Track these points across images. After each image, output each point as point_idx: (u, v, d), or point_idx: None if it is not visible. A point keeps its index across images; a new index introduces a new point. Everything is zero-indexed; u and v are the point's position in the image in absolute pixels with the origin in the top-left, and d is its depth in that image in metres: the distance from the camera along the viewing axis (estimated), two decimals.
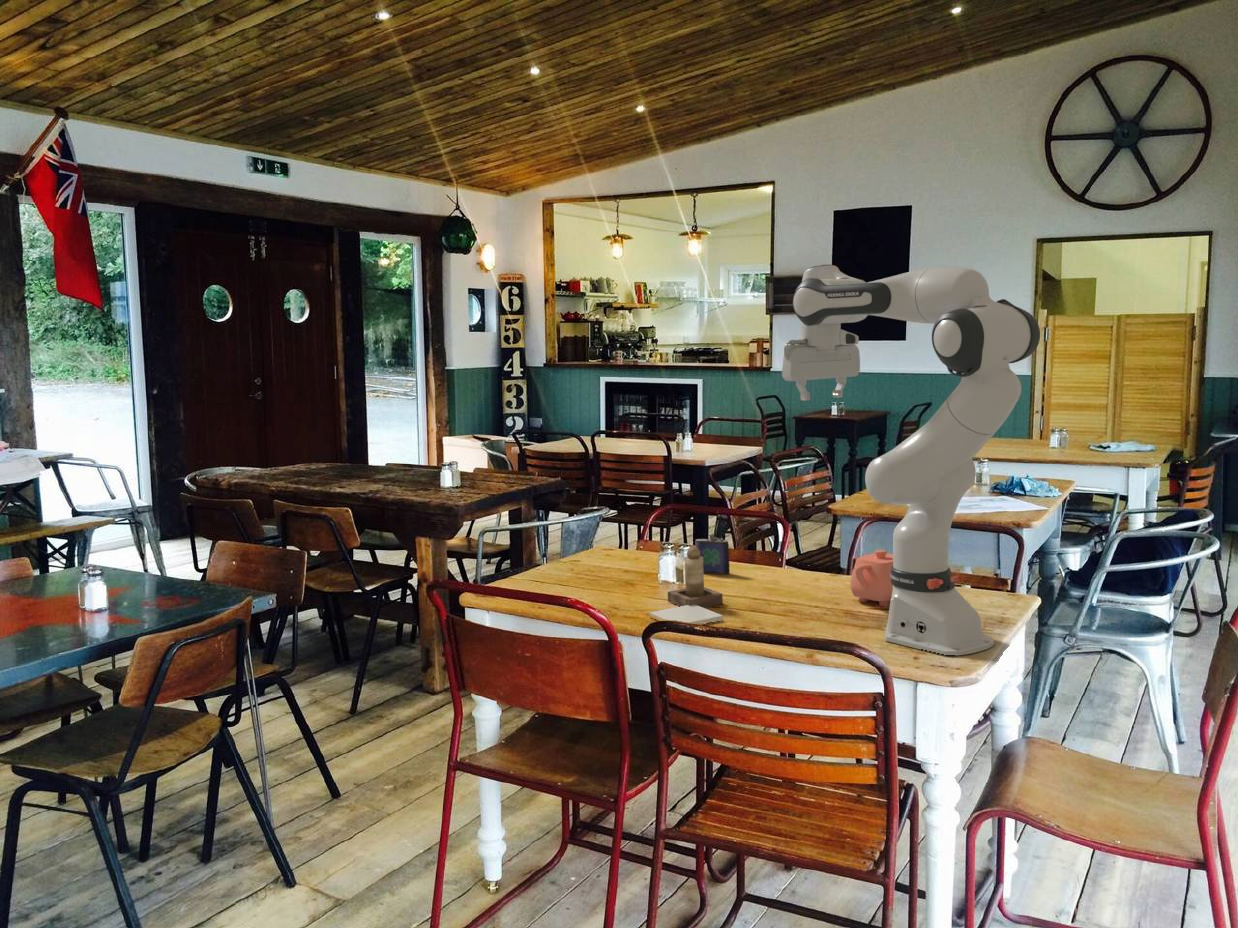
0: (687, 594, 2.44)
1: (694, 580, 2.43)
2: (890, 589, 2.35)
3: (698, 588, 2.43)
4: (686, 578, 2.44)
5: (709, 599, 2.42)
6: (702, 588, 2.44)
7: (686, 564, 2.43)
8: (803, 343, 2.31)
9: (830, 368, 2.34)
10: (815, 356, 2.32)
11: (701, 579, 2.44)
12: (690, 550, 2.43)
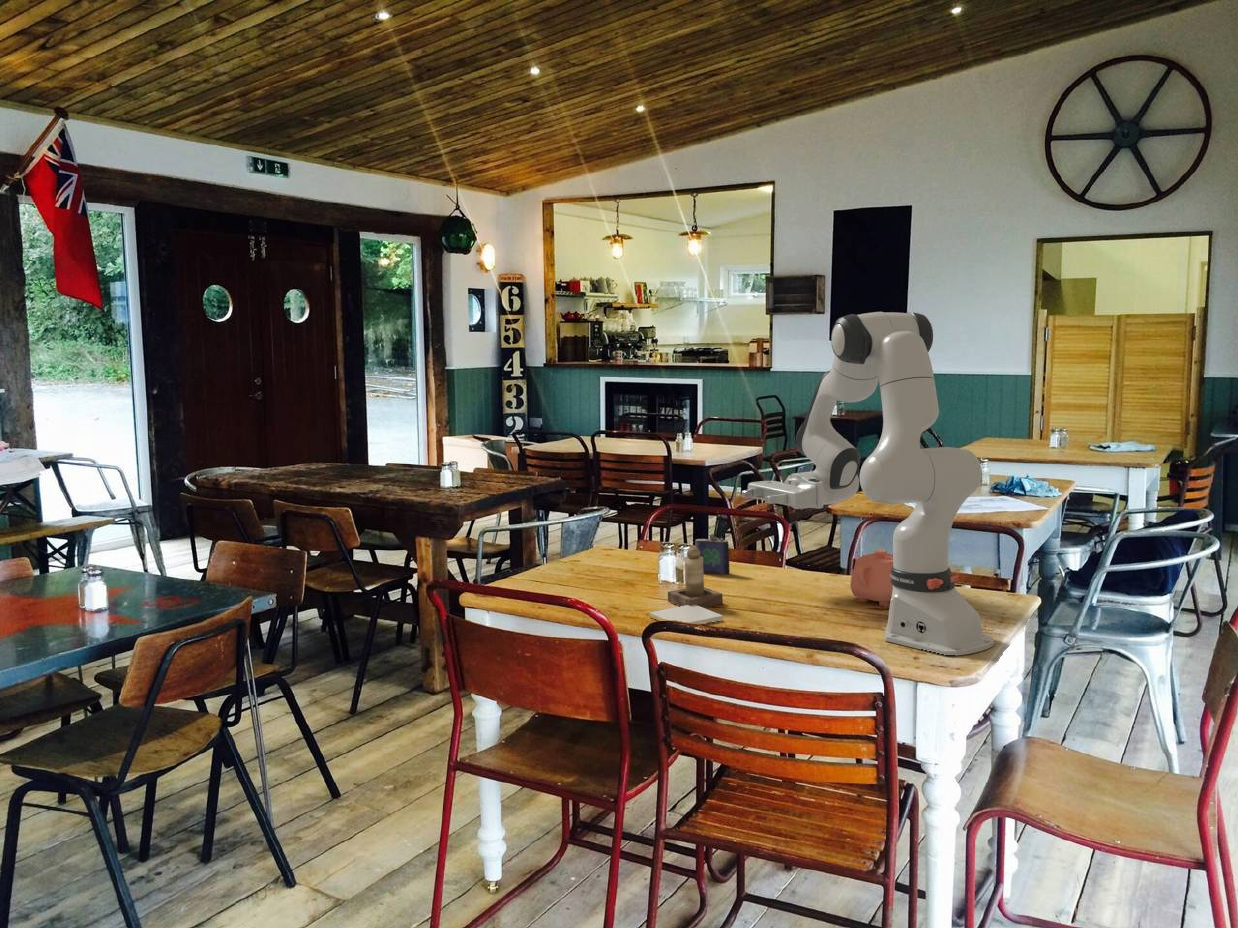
0: (687, 594, 2.44)
1: (694, 580, 2.43)
2: (890, 589, 2.35)
3: (698, 588, 2.43)
4: (686, 578, 2.44)
5: (709, 599, 2.42)
6: (702, 588, 2.44)
7: (686, 564, 2.43)
8: None
9: (781, 487, 2.49)
10: (779, 484, 2.55)
11: (701, 579, 2.44)
12: (690, 550, 2.43)
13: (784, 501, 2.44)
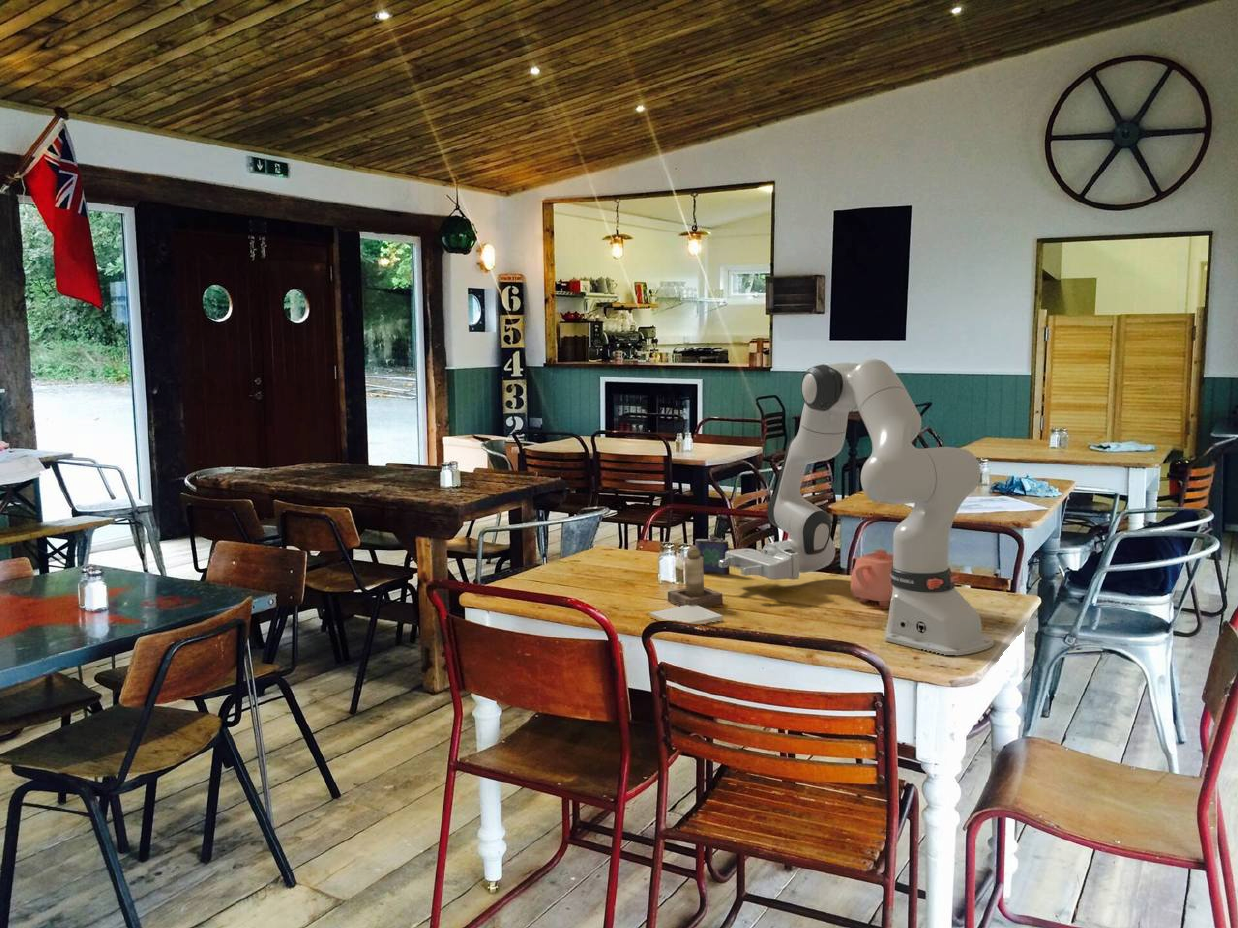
0: (687, 594, 2.44)
1: (694, 580, 2.43)
2: (890, 589, 2.35)
3: (698, 588, 2.43)
4: (686, 578, 2.44)
5: (709, 599, 2.42)
6: (702, 588, 2.44)
7: (686, 564, 2.43)
8: None
9: (757, 557, 2.52)
10: (756, 553, 2.57)
11: (701, 579, 2.44)
12: (690, 550, 2.43)
13: (759, 572, 2.46)
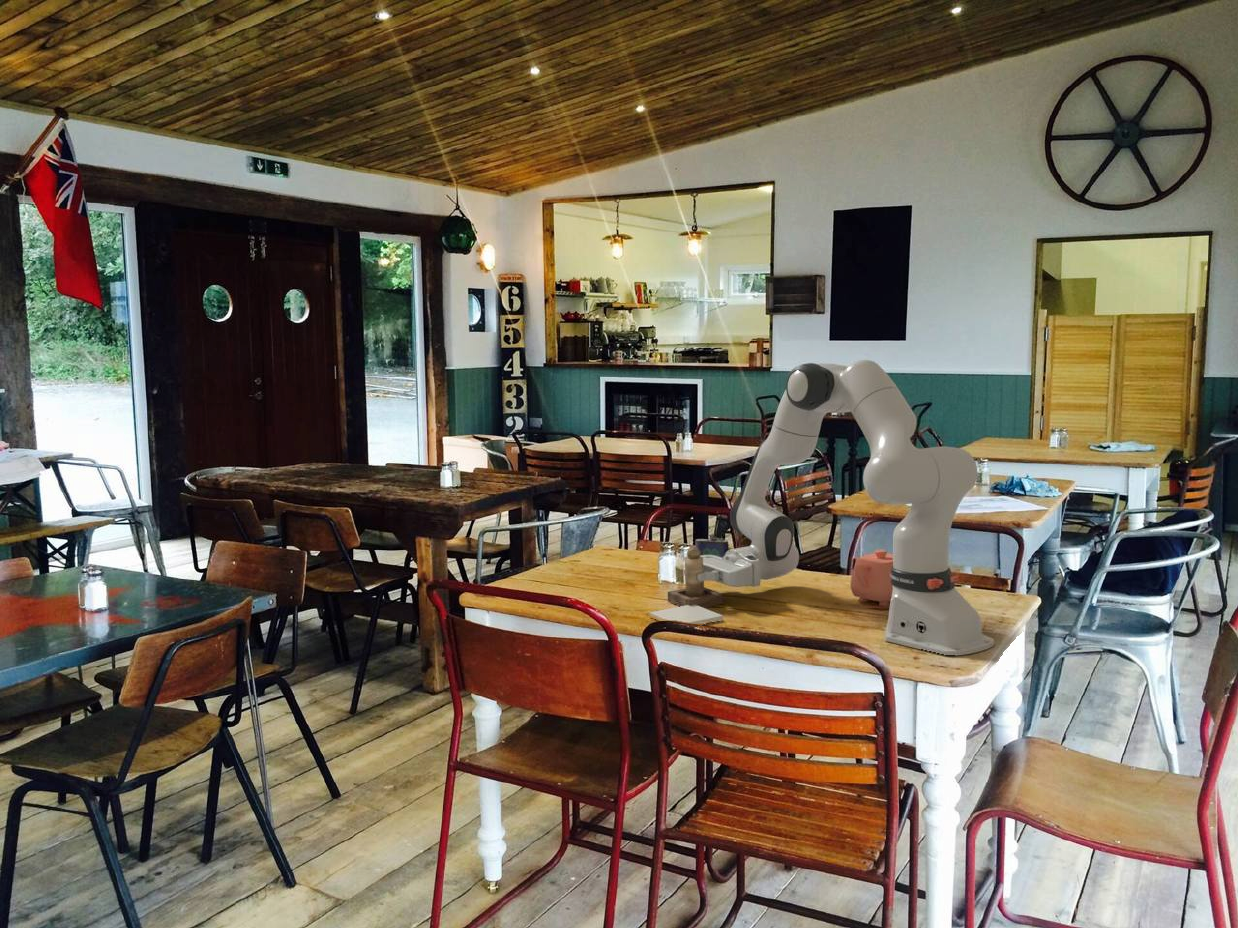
0: (687, 594, 2.44)
1: (694, 580, 2.43)
2: (890, 589, 2.35)
3: (698, 588, 2.43)
4: (686, 578, 2.44)
5: (709, 599, 2.42)
6: (702, 588, 2.44)
7: (686, 564, 2.43)
8: None
9: (718, 564, 2.46)
10: (718, 560, 2.51)
11: None
12: (690, 550, 2.43)
13: (715, 578, 2.42)
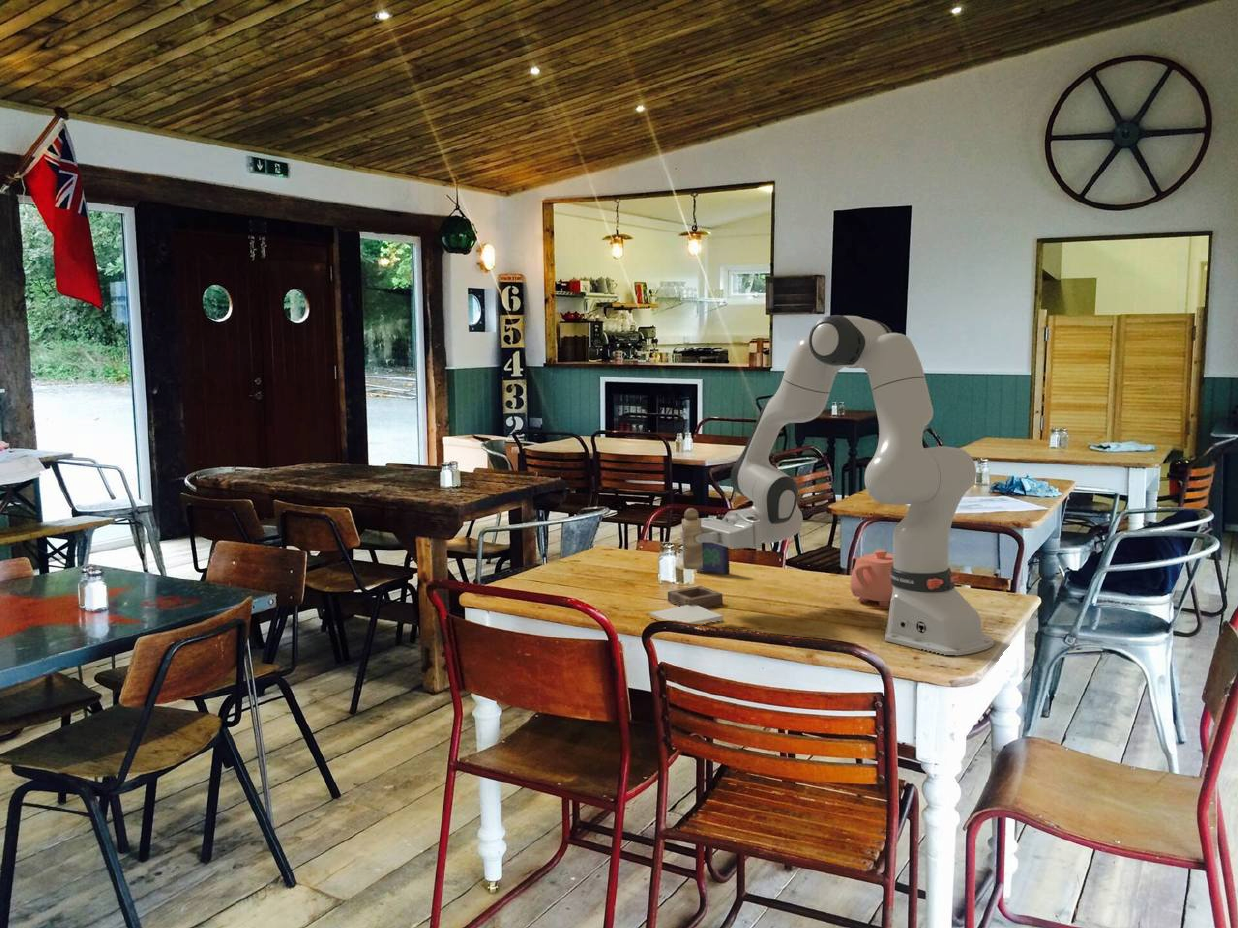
0: (685, 557, 2.32)
1: (691, 543, 2.31)
2: (890, 589, 2.35)
3: (696, 551, 2.31)
4: (683, 541, 2.32)
5: (709, 599, 2.42)
6: (700, 551, 2.32)
7: (683, 526, 2.31)
8: None
9: (717, 525, 2.34)
10: (717, 522, 2.39)
11: None
12: (687, 511, 2.31)
13: (714, 540, 2.30)
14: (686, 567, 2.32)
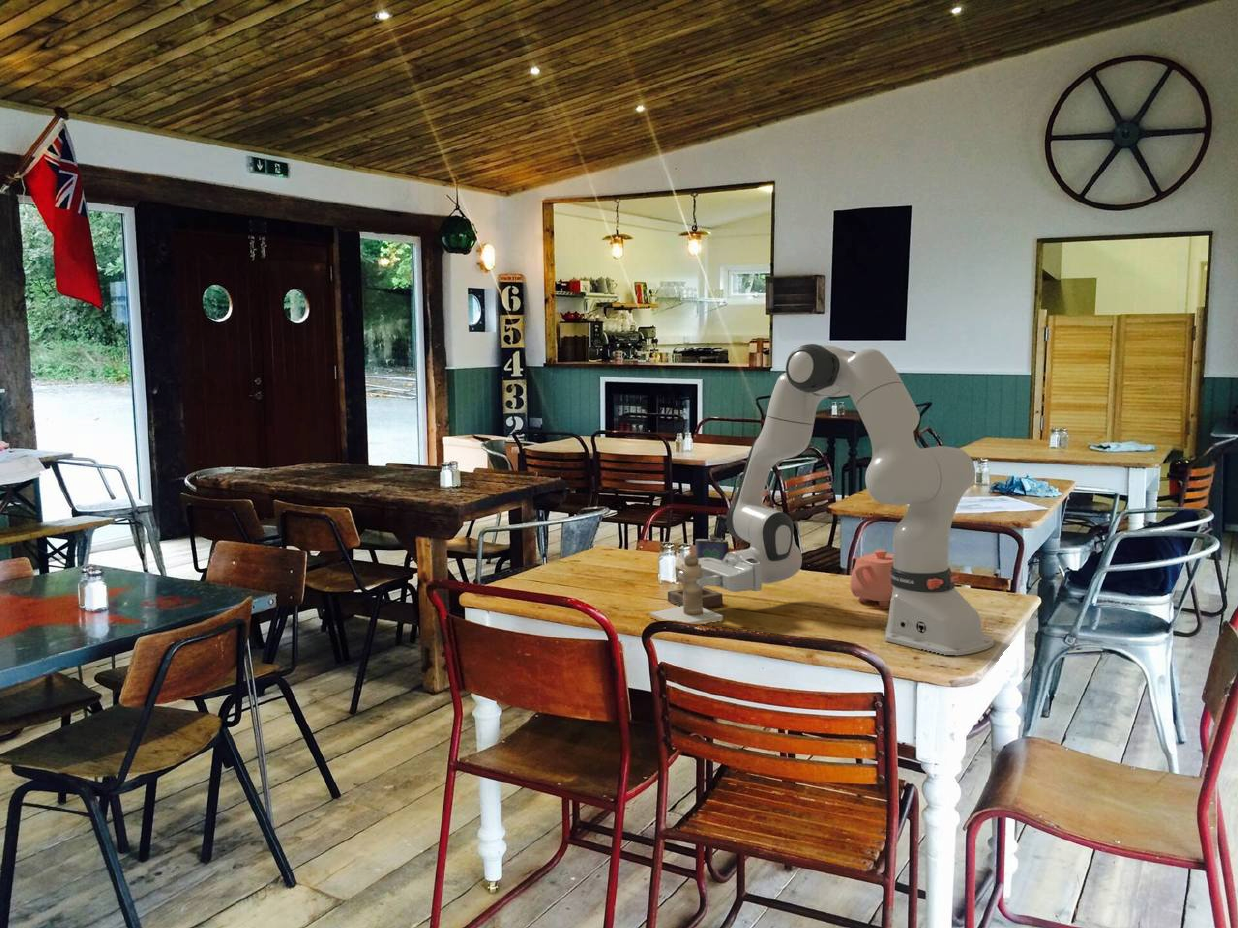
0: (685, 603, 2.32)
1: (691, 589, 2.31)
2: (890, 589, 2.35)
3: (696, 597, 2.31)
4: (684, 586, 2.32)
5: (709, 599, 2.42)
6: (700, 597, 2.32)
7: (683, 572, 2.31)
8: None
9: (717, 567, 2.34)
10: (717, 563, 2.39)
11: (699, 587, 2.31)
12: (688, 557, 2.31)
13: (716, 583, 2.29)
14: (686, 613, 2.32)
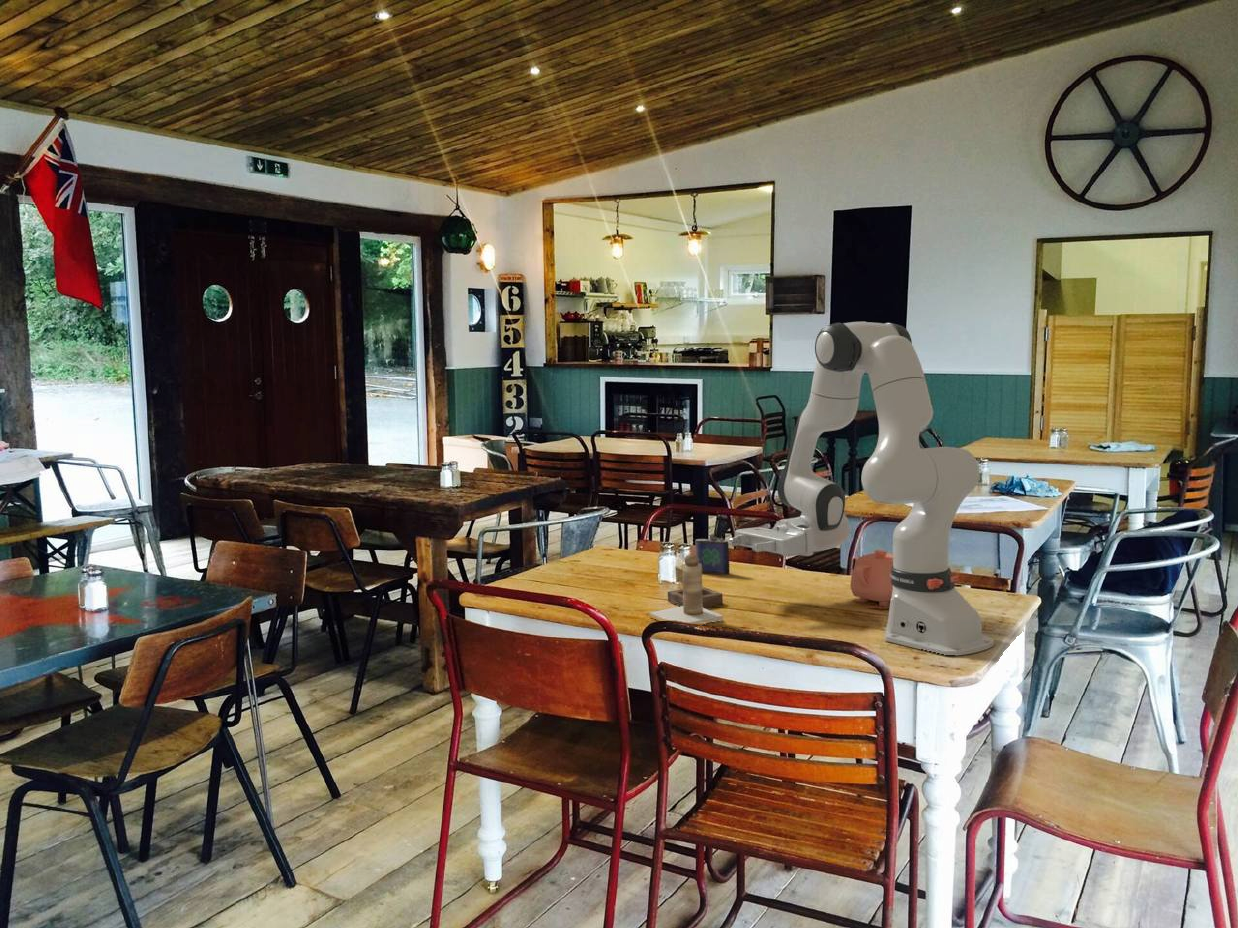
0: (685, 603, 2.32)
1: (692, 589, 2.31)
2: (890, 589, 2.35)
3: (696, 597, 2.31)
4: (684, 586, 2.32)
5: (709, 599, 2.42)
6: (700, 597, 2.32)
7: (684, 572, 2.31)
8: None
9: (769, 534, 2.40)
10: (767, 531, 2.45)
11: (699, 587, 2.31)
12: (688, 557, 2.31)
13: (772, 548, 2.34)
14: (686, 613, 2.32)
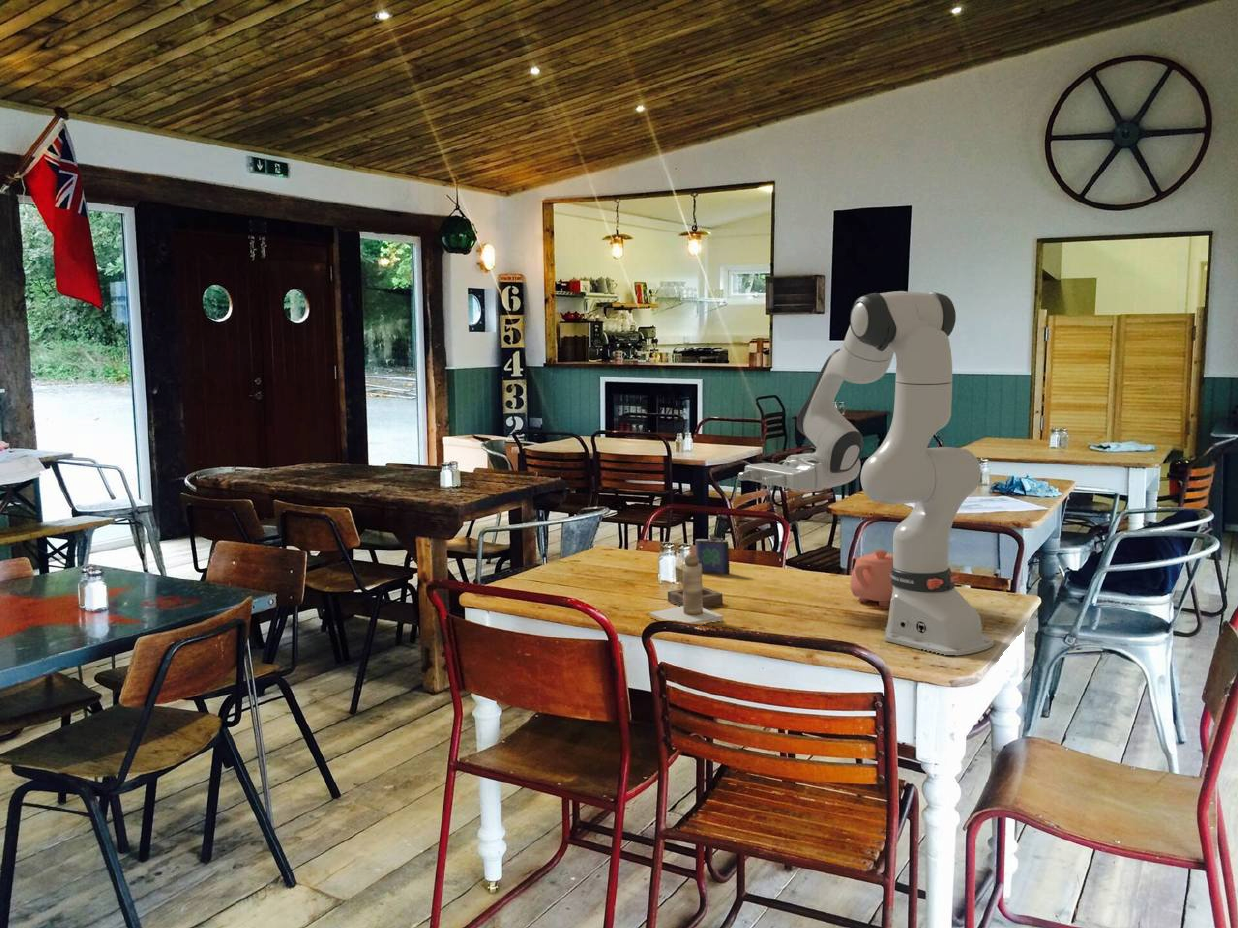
0: (685, 603, 2.32)
1: (692, 589, 2.31)
2: (890, 589, 2.35)
3: (696, 597, 2.31)
4: (684, 586, 2.32)
5: (709, 599, 2.42)
6: (701, 597, 2.32)
7: (684, 572, 2.31)
8: None
9: (779, 468, 2.40)
10: (777, 467, 2.45)
11: (699, 587, 2.31)
12: (688, 557, 2.31)
13: (782, 483, 2.34)
14: (686, 613, 2.32)
